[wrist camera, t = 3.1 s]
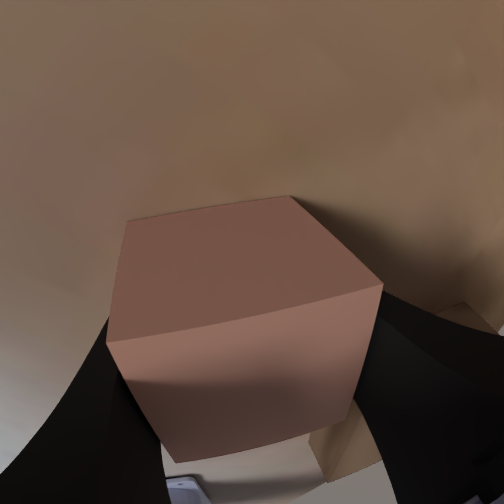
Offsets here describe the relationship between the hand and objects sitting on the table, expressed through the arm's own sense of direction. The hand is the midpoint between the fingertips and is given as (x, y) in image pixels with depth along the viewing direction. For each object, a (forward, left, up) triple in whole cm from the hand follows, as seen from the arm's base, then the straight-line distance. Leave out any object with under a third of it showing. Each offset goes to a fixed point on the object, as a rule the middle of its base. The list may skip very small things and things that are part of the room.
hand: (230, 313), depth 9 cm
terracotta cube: (0, 0, -2) cm, 2 cm away
